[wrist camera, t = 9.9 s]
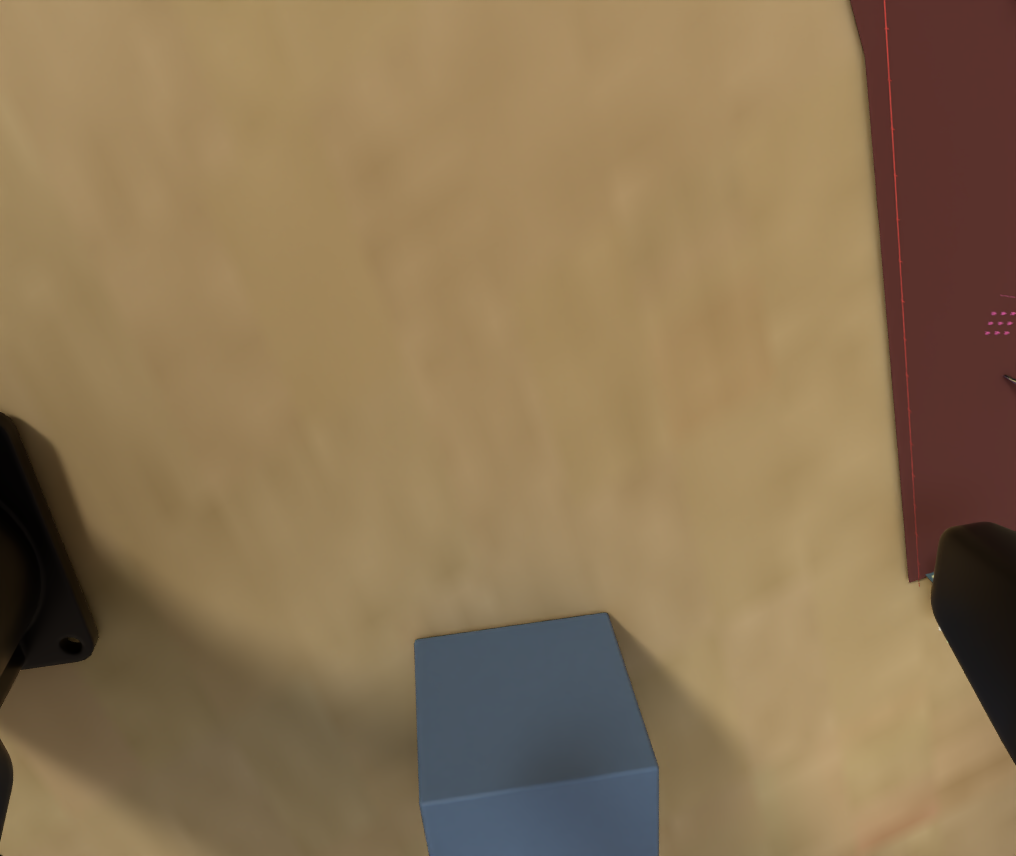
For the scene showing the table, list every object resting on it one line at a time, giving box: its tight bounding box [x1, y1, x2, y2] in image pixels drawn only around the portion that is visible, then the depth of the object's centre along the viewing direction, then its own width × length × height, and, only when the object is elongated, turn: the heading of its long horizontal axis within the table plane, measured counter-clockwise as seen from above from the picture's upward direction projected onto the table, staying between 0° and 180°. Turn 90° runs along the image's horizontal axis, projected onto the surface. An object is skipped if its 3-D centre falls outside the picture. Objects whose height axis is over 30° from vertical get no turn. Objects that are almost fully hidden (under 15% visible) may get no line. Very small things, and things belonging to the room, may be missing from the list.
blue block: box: [414, 613, 659, 856], centre depth 21 cm, size 5×5×5 cm
